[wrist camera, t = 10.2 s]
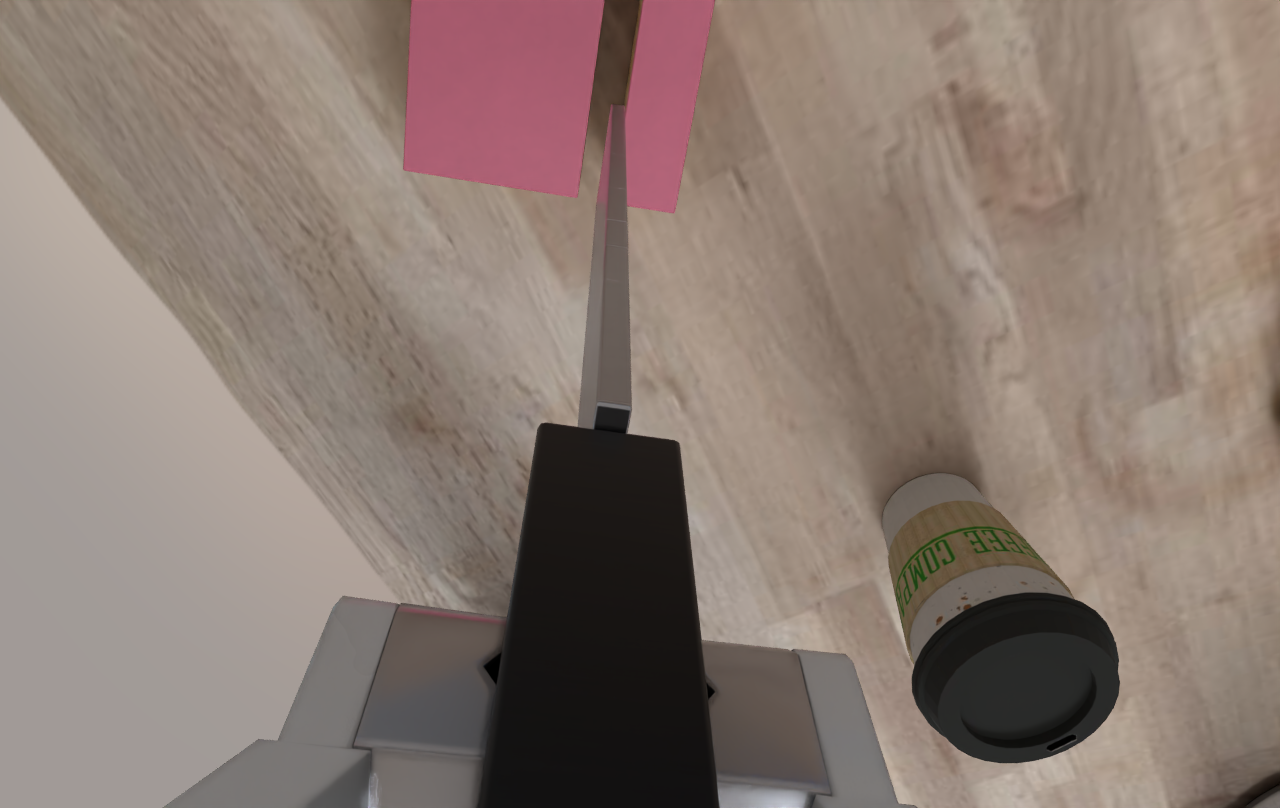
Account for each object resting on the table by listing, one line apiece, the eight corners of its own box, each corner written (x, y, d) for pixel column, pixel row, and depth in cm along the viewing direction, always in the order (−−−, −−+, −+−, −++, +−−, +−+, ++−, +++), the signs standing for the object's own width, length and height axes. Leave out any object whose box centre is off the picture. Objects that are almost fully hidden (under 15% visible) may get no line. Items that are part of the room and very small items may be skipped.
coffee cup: (965, 417, 53) (1079, 584, 40) (1040, 526, 57) (1168, 711, 44) (821, 505, 56) (884, 689, 43) (902, 603, 60) (983, 800, 46)
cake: (419, 150, 45) (402, 170, 42) (434, -116, 40) (416, -119, 36) (580, 176, 46) (577, 198, 43) (616, -82, 41) (615, -81, 37)
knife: (575, 203, 27) (388, 1423, 5) (589, 99, 26) (417, 1169, 4) (628, 211, 27) (663, 1431, 5) (645, 109, 26) (786, 1188, 4)
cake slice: (612, 181, 46) (611, 203, 43) (651, -75, 41) (654, -73, 37) (670, 190, 47) (674, 213, 43) (717, -63, 41) (726, -60, 38)
